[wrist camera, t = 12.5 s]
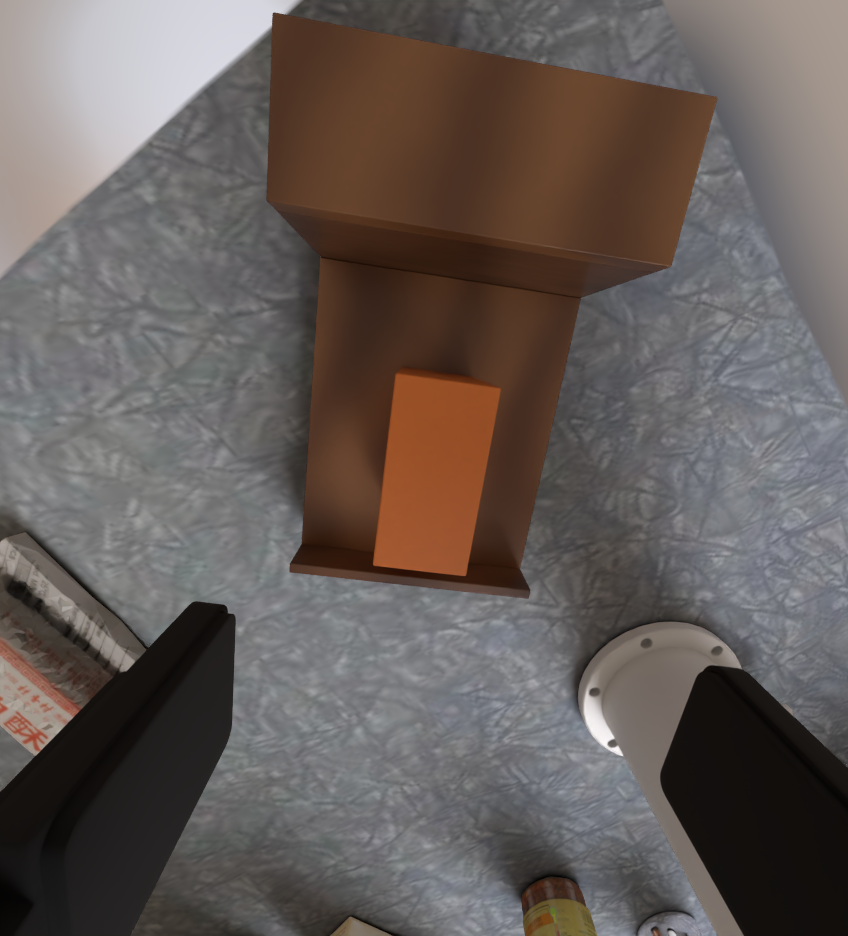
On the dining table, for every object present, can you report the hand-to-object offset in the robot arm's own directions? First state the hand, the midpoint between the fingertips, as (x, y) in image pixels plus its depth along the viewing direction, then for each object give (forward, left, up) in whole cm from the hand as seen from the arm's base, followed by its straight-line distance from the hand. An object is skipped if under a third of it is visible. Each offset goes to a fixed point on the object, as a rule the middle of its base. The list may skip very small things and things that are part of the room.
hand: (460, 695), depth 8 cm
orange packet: (0, -2, -17) cm, 17 cm away
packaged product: (+24, +18, -20) cm, 36 cm away
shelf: (0, -5, -20) cm, 20 cm away
